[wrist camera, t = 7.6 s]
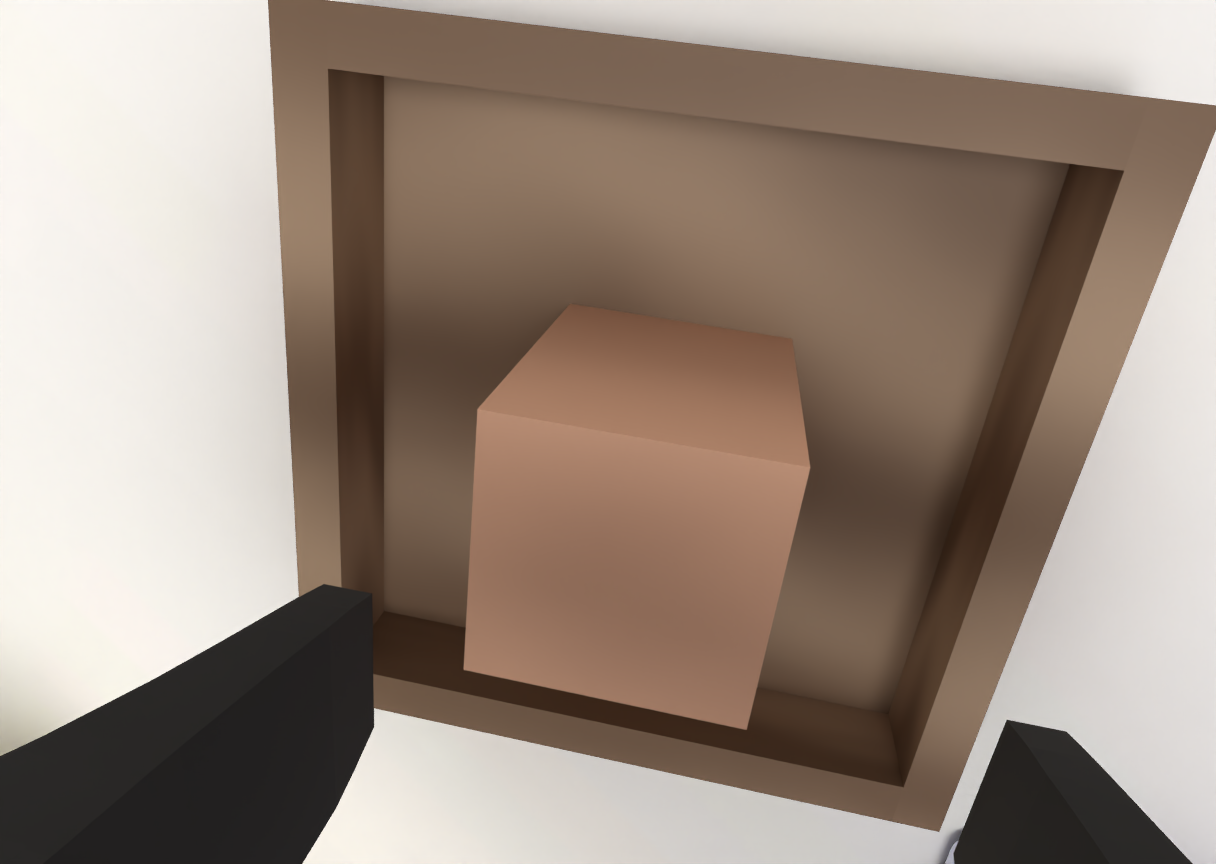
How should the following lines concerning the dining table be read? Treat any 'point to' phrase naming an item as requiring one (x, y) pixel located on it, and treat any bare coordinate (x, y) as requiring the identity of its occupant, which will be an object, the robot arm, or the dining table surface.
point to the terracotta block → (636, 512)
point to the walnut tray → (728, 298)
